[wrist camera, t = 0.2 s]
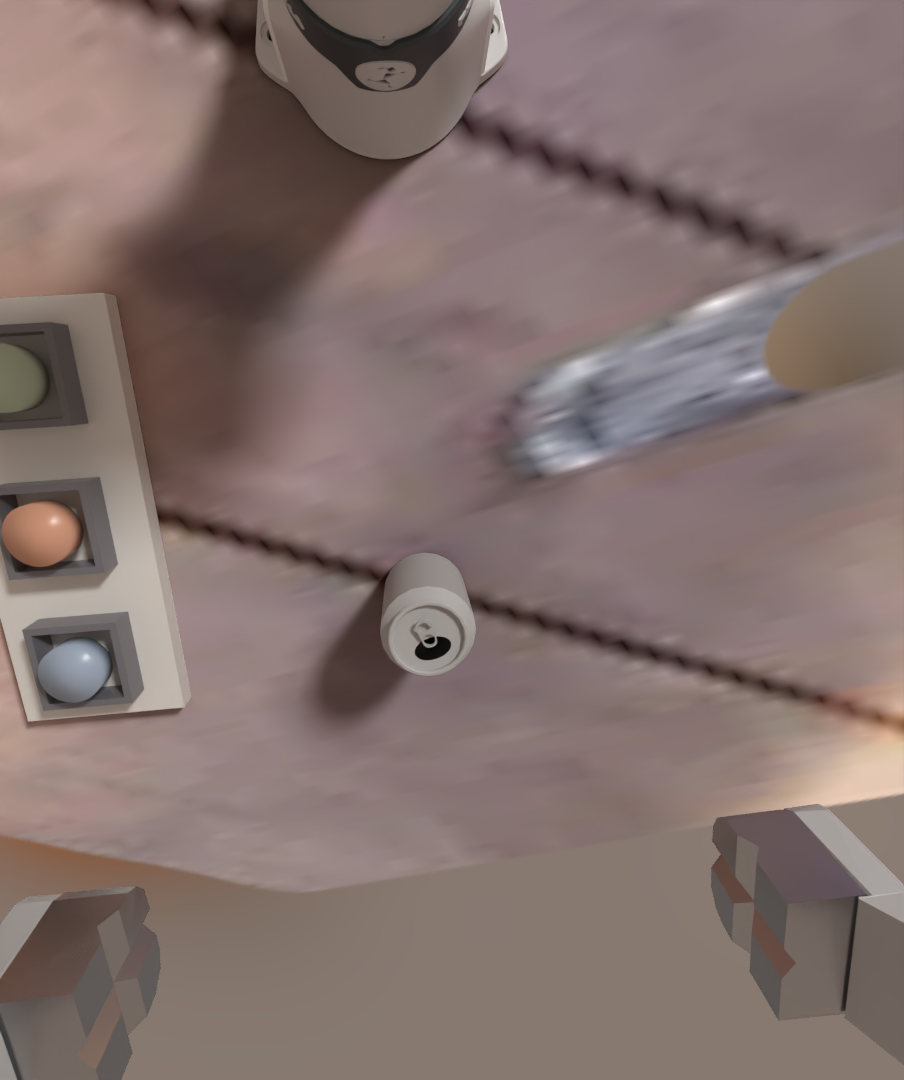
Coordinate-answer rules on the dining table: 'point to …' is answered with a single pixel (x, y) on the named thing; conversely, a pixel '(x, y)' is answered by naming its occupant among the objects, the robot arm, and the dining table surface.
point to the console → (86, 515)
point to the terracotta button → (42, 532)
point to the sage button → (21, 379)
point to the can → (426, 615)
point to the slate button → (75, 669)
